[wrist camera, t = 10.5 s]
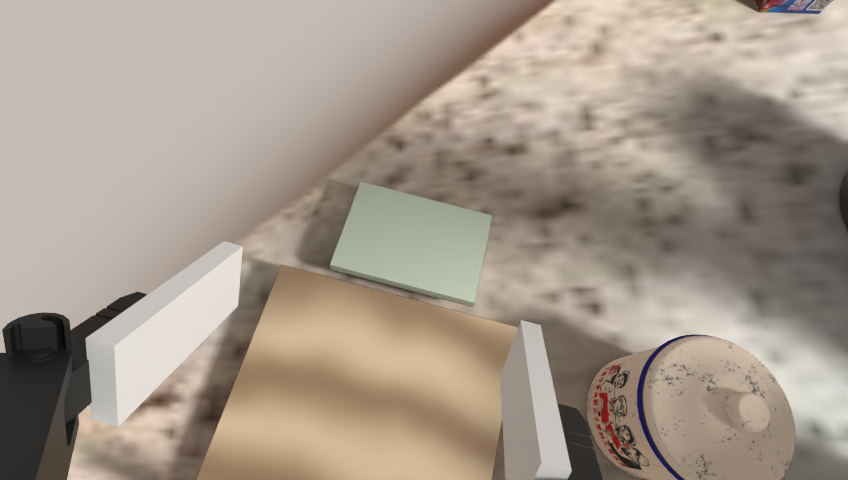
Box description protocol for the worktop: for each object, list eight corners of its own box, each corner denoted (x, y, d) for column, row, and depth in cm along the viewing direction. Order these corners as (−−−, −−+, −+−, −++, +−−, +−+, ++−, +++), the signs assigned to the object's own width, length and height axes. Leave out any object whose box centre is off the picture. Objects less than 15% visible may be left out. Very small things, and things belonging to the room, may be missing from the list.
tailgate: (474, 302, 33) (492, 215, 37) (329, 264, 34) (360, 181, 37) (470, 309, 35) (488, 224, 38) (331, 272, 35) (361, 191, 38)
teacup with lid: (571, 356, 36) (650, 327, 25) (681, 351, 37) (803, 321, 26) (601, 534, 31) (713, 592, 21) (725, 524, 32) (895, 575, 21)
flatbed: (461, 592, 30) (490, 658, 21) (196, 518, 30) (123, 554, 22) (507, 334, 36) (543, 308, 28) (289, 276, 36) (260, 233, 28)
